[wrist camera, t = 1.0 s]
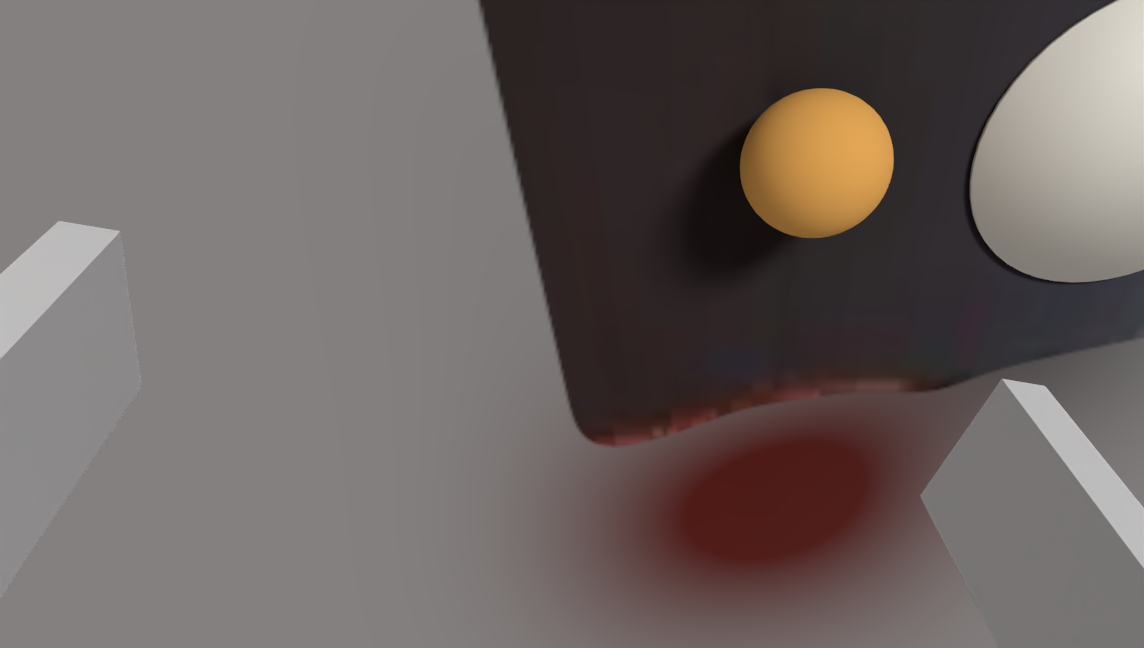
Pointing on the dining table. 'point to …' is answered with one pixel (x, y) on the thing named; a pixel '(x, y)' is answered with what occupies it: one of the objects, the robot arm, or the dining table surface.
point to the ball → (816, 163)
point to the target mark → (1069, 155)
